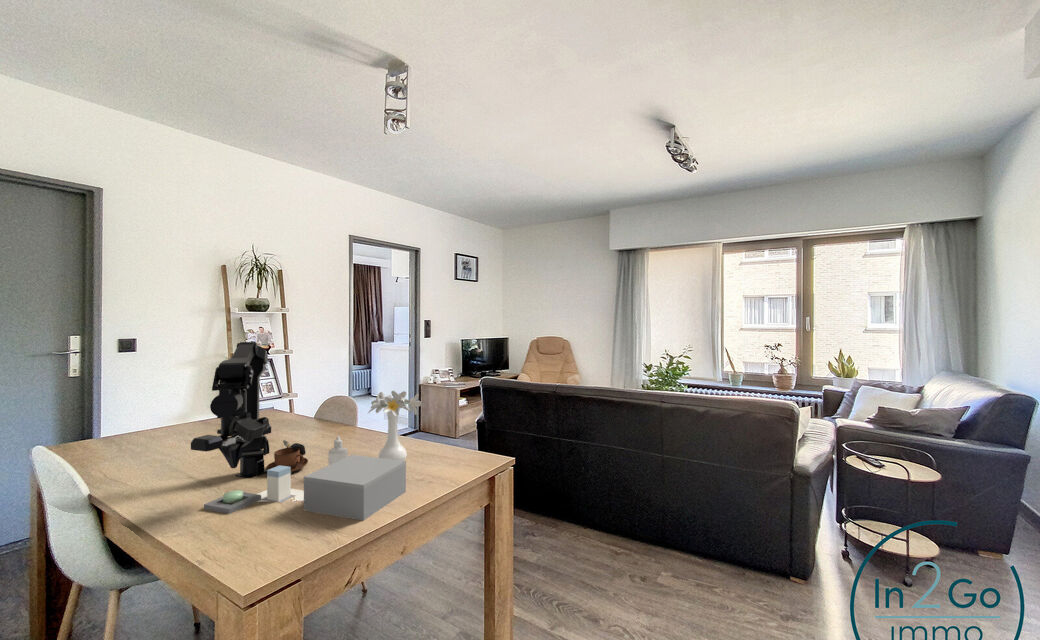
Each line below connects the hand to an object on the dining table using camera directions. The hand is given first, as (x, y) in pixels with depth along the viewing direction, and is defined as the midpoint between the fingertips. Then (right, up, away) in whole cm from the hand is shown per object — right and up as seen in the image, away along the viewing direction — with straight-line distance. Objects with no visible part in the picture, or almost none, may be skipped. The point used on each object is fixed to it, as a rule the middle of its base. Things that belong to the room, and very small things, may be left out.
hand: (233, 467), depth 113 cm
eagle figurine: (0, -10, +31) cm, 32 cm away
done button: (0, -8, 0) cm, 8 cm away
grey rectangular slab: (+32, -10, +2) cm, 34 cm away
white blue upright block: (+10, -10, +4) cm, 14 cm away
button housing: (0, -10, 0) cm, 10 cm away
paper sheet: (+10, -10, +4) cm, 14 cm away
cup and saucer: (0, -10, +26) cm, 28 cm away
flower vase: (+33, -10, +32) cm, 47 cm away
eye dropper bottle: (+18, -10, +23) cm, 31 cm away
